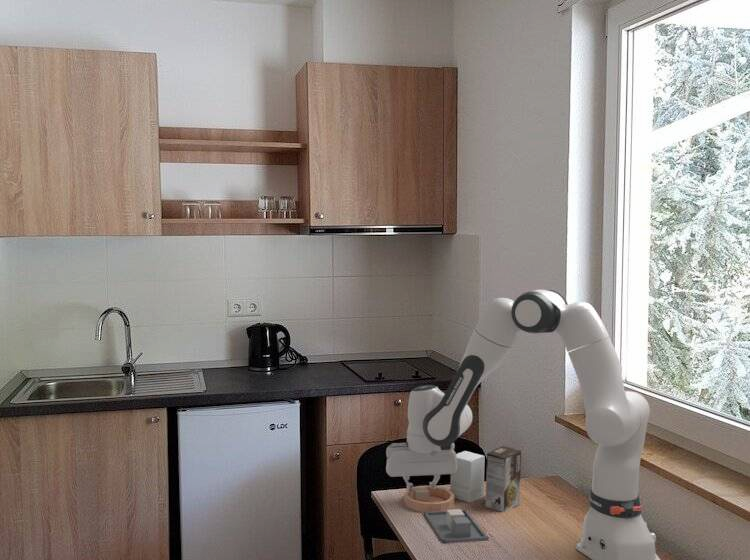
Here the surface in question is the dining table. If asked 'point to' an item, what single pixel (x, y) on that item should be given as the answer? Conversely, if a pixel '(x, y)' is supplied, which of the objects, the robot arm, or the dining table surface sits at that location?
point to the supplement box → (468, 477)
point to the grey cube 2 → (461, 527)
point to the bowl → (431, 500)
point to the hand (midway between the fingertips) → (421, 489)
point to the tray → (446, 535)
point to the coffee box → (503, 478)
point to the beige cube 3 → (453, 516)
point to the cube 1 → (421, 494)
